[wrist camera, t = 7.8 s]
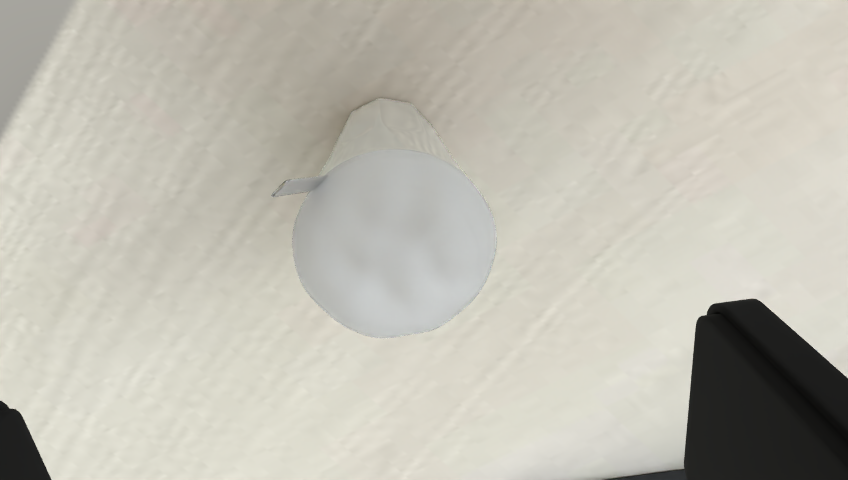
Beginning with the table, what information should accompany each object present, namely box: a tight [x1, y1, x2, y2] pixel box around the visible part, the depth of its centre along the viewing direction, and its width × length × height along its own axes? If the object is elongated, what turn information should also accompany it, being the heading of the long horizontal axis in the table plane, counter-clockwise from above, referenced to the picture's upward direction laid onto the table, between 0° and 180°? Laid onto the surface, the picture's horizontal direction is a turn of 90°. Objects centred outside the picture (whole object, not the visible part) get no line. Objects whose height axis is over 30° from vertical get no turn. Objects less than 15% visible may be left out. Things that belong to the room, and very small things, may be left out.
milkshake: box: [271, 98, 497, 338], centre depth 17 cm, size 4×5×10 cm
